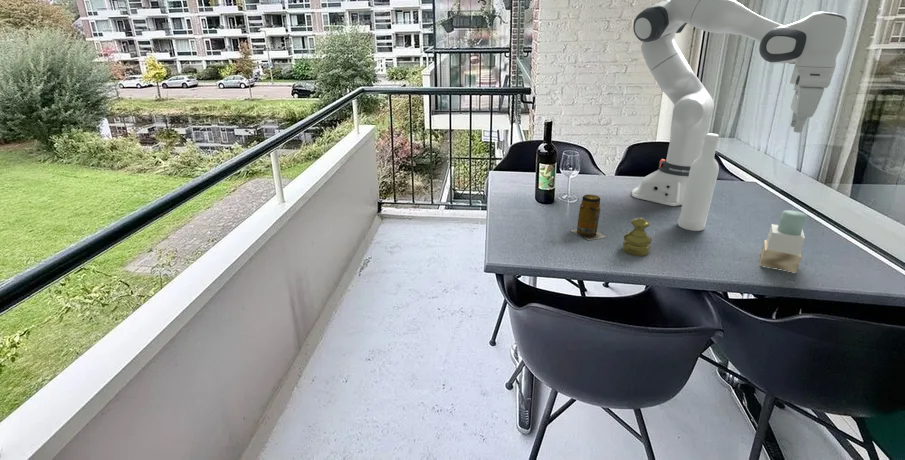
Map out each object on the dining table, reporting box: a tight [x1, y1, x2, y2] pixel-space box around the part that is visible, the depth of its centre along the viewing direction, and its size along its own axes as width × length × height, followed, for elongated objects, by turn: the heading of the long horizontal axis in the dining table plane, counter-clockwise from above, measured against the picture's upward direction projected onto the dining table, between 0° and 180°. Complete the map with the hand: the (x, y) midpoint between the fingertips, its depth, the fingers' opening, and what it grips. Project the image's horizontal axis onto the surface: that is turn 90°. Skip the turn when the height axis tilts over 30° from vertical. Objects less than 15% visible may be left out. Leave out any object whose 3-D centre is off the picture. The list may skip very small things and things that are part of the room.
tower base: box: [759, 239, 802, 273], centre depth 124 cm, size 8×8×5 cm
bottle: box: [677, 132, 720, 232], centre depth 143 cm, size 8×8×30 cm
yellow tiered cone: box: [621, 217, 653, 257], centre depth 129 cm, size 7×7×10 cm
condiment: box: [569, 194, 607, 241], centre depth 140 cm, size 7×8×12 cm
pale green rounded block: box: [777, 209, 808, 235], centre depth 120 cm, size 5×5×5 cm
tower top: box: [765, 223, 806, 256], centre depth 122 cm, size 7×7×5 cm
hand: (795, 129), depth 129 cm, fingers open, 8 cm apart
